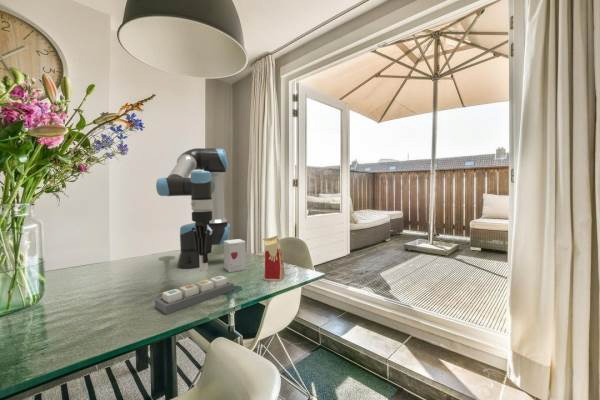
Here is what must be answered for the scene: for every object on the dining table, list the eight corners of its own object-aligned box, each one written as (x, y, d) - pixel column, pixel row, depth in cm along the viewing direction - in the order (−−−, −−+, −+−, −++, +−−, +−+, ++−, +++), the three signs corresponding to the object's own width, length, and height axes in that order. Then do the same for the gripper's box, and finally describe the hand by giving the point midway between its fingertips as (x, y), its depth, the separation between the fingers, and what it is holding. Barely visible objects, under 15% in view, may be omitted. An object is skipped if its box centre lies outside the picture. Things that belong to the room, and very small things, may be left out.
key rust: (180, 294, 98) (179, 287, 98) (192, 290, 102) (192, 283, 102) (186, 297, 95) (185, 290, 95) (198, 293, 99) (198, 286, 99)
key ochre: (195, 289, 103) (195, 282, 103) (207, 285, 107) (206, 279, 106) (202, 292, 100) (201, 285, 100) (213, 288, 103) (213, 281, 103)
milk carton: (284, 274, 127) (283, 233, 126) (281, 281, 118) (280, 237, 117) (266, 274, 128) (265, 233, 127) (261, 280, 119) (260, 237, 118)
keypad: (155, 307, 94) (154, 299, 93) (221, 285, 114) (221, 279, 114) (165, 314, 88) (165, 306, 88) (233, 290, 108) (233, 283, 108)
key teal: (162, 299, 93) (162, 292, 93) (176, 295, 97) (175, 288, 97) (168, 303, 90) (168, 295, 90) (182, 298, 94) (182, 291, 94)
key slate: (210, 284, 108) (210, 278, 107) (220, 281, 111) (220, 275, 111) (216, 287, 104) (216, 280, 104) (227, 284, 108) (226, 277, 108)
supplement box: (229, 272, 132) (228, 243, 131) (223, 268, 139) (223, 240, 138) (246, 269, 137) (245, 241, 136) (240, 265, 144) (239, 238, 143)
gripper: (184, 210, 103) (186, 270, 104) (201, 212, 95) (203, 276, 96) (202, 209, 109) (204, 265, 110) (219, 210, 101) (221, 271, 101)
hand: (203, 270), depth 103 cm, fingers closed
